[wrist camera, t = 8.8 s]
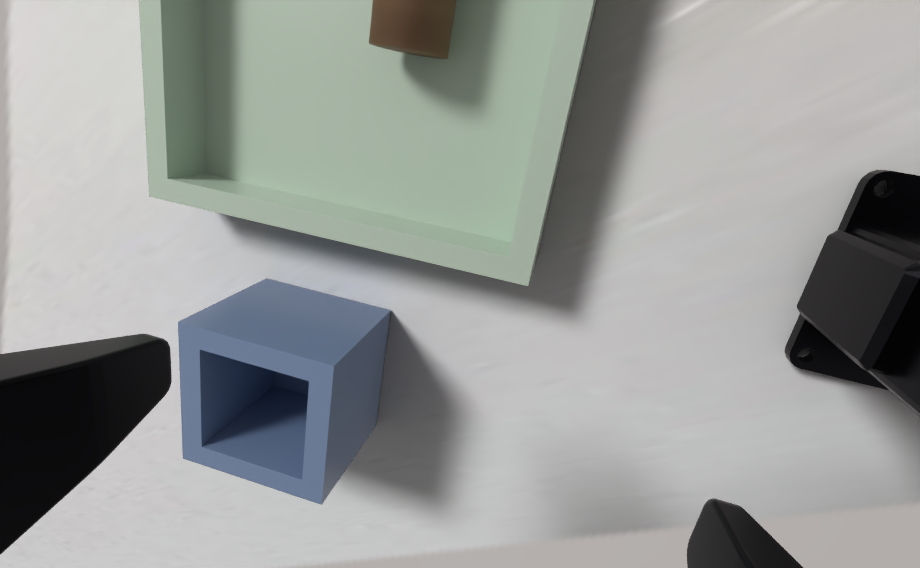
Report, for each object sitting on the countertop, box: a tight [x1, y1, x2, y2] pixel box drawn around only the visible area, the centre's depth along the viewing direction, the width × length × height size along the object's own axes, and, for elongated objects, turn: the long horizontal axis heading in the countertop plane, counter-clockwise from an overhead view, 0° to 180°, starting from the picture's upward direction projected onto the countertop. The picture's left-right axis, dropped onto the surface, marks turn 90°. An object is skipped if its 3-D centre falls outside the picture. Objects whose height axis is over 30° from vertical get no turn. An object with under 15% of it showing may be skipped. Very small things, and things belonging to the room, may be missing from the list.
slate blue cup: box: [178, 279, 391, 505], centre depth 19 cm, size 6×6×5 cm
